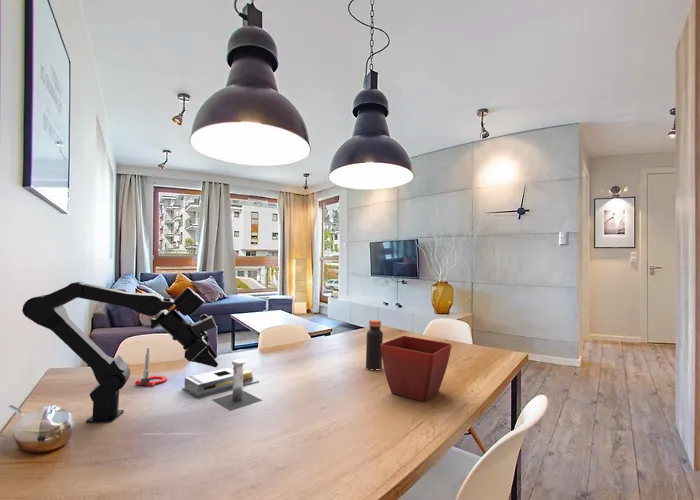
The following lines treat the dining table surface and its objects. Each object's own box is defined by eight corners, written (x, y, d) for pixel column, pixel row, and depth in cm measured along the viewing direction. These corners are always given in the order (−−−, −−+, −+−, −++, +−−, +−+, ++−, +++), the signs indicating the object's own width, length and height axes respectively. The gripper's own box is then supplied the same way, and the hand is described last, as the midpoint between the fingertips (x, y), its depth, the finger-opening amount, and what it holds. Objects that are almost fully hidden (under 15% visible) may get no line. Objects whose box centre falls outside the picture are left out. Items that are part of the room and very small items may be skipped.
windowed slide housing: (198, 400, 108) (199, 386, 108) (182, 389, 116) (182, 376, 116) (258, 383, 124) (259, 370, 125) (240, 375, 132) (241, 363, 133)
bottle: (362, 367, 146) (363, 320, 147) (373, 364, 151) (374, 318, 151) (373, 371, 141) (375, 322, 142) (385, 368, 146) (386, 321, 146)
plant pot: (451, 391, 123) (452, 343, 123) (431, 409, 107) (433, 354, 107) (402, 379, 133) (403, 335, 134) (377, 394, 118) (379, 344, 118)
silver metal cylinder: (242, 402, 106) (243, 363, 107) (229, 402, 106) (230, 363, 106) (245, 397, 110) (246, 359, 111) (232, 397, 110) (233, 359, 110)
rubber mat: (230, 412, 100) (230, 410, 100) (211, 401, 108) (211, 399, 108) (262, 401, 109) (262, 400, 109) (243, 391, 116) (243, 390, 116)
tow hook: (151, 378, 128) (132, 385, 119) (154, 342, 129) (135, 347, 120) (172, 380, 127) (154, 387, 117) (175, 344, 128) (157, 349, 118)
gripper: (199, 311, 96) (239, 349, 100) (200, 303, 113) (234, 335, 117) (166, 342, 93) (209, 379, 97) (172, 328, 110) (208, 361, 114)
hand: (216, 361), depth 106 cm, fingers open, 9 cm apart
